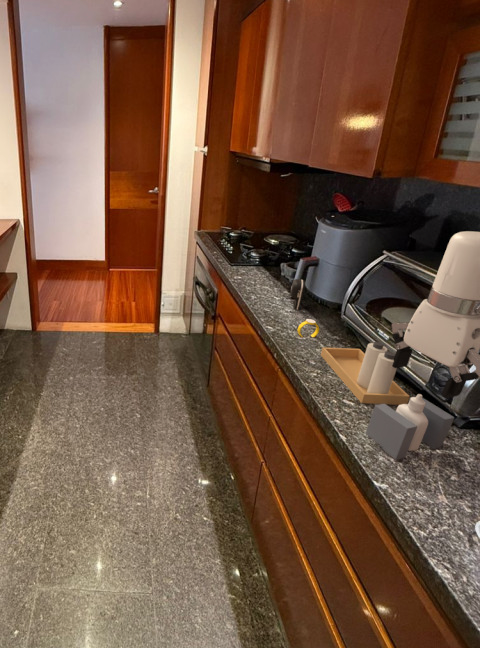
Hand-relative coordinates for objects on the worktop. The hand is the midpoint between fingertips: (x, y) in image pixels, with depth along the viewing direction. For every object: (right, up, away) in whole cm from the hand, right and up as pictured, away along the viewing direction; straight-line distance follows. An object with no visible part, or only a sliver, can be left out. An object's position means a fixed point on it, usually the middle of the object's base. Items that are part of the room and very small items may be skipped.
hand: (422, 380), depth 76 cm
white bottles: (+5, -7, +21) cm, 23 cm away
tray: (+5, -6, +26) cm, 27 cm away
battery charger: (+8, +10, +65) cm, 66 cm away
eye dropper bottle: (0, -14, +6) cm, 16 cm away
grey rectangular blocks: (0, -14, +6) cm, 15 cm away
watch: (+2, +2, +46) cm, 46 cm away
